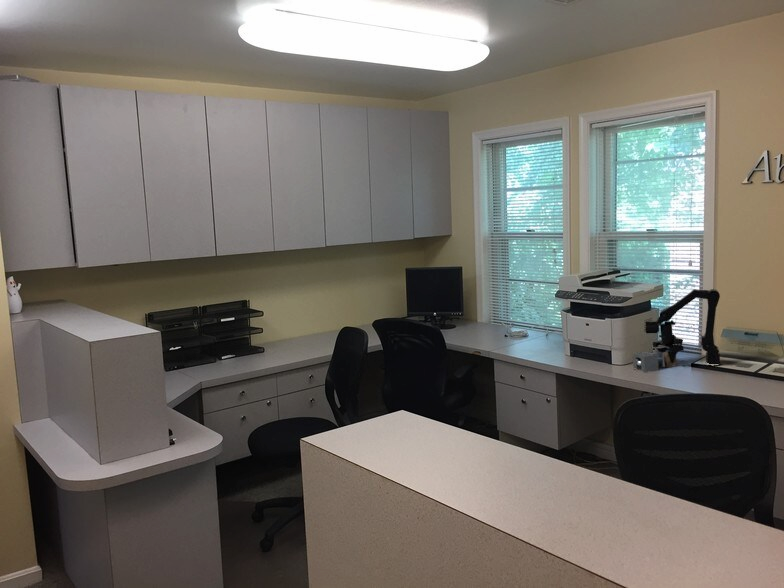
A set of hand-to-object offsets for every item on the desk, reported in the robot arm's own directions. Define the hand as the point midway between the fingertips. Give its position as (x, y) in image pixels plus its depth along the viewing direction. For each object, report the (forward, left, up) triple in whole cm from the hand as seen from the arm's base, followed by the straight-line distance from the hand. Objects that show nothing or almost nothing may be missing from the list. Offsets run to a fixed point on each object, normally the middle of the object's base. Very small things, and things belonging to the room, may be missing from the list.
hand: (668, 361), depth 344 cm
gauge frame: (+2, +9, -2) cm, 9 cm away
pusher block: (0, 0, -2) cm, 2 cm away
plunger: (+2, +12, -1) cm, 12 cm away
